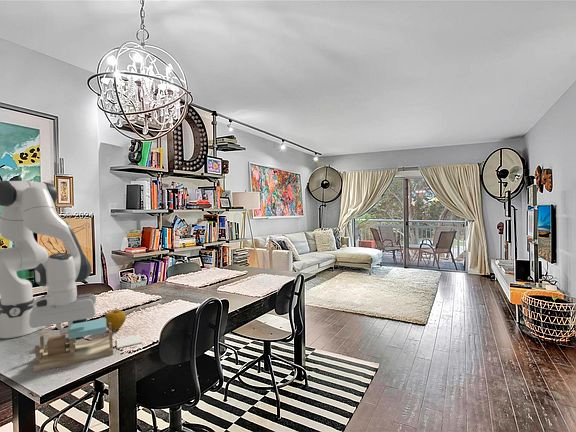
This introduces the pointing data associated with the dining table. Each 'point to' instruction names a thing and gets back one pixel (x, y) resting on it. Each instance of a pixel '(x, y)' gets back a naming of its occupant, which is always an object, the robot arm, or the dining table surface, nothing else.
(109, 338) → the beige notched bar
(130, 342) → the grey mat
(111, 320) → the apple
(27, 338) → the dining table surface
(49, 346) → the walnut block
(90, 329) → the sliding lid
